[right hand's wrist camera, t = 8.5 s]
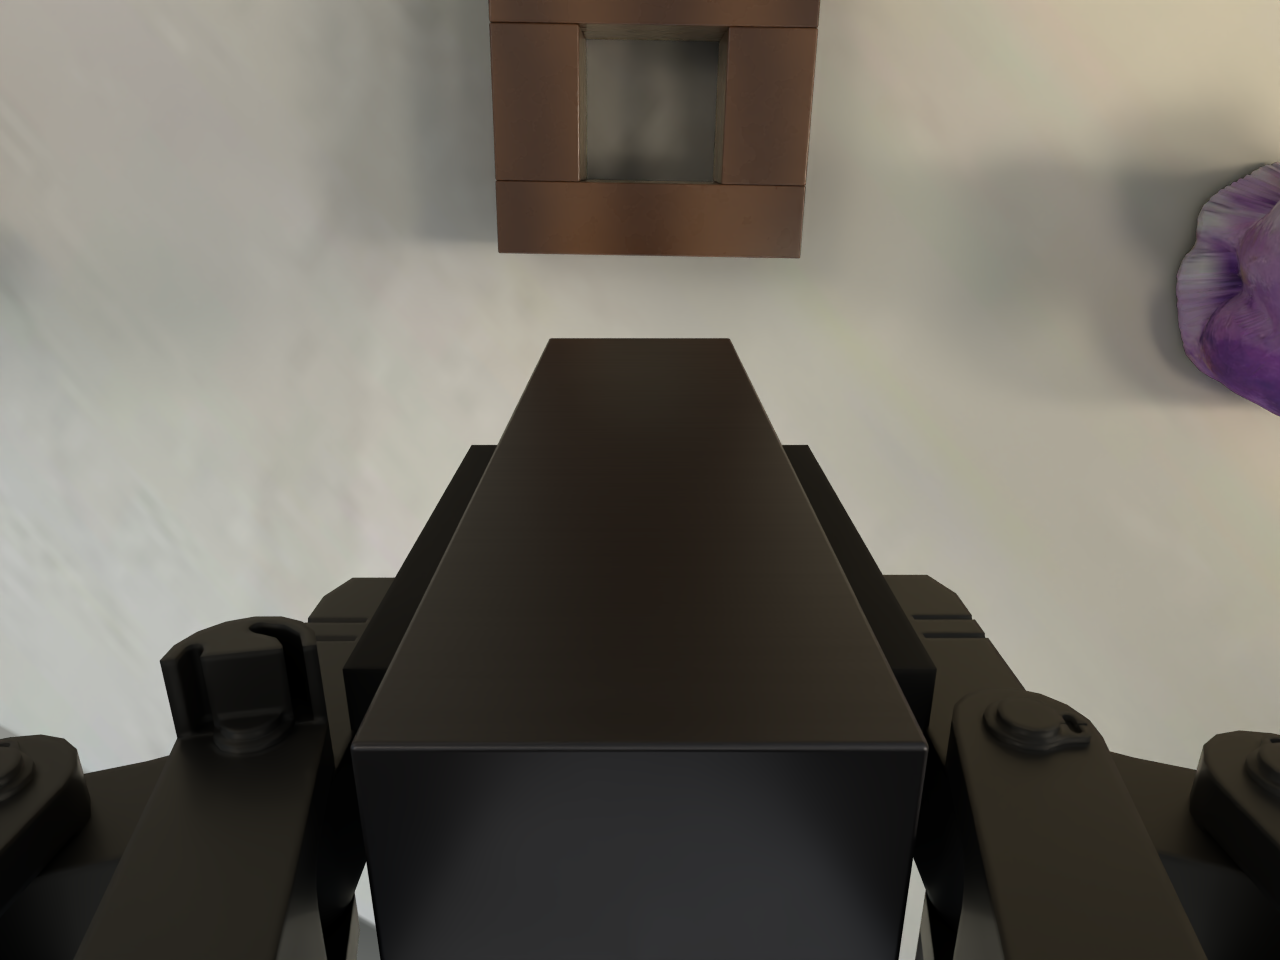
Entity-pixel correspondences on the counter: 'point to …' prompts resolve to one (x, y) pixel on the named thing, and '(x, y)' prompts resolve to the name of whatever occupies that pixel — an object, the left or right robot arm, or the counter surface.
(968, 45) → the counter surface
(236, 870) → the right robot arm
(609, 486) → the peg
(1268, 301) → the figurine
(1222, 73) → the counter surface
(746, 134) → the peg board
